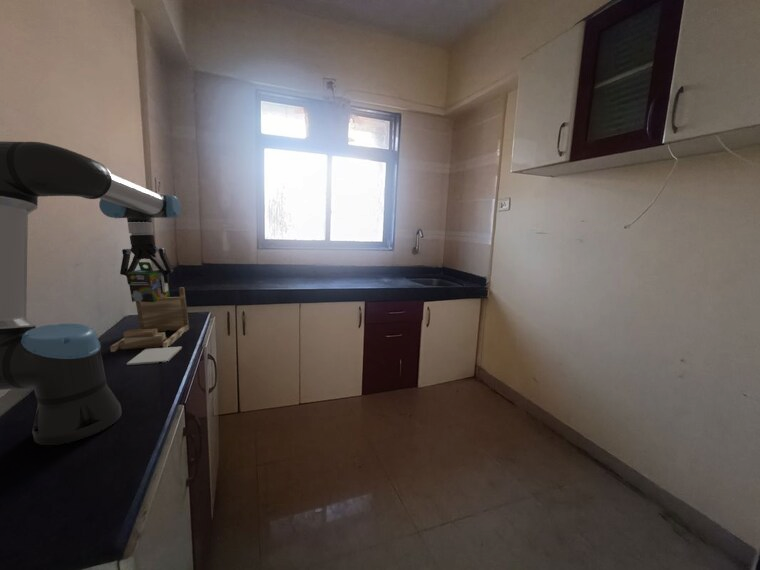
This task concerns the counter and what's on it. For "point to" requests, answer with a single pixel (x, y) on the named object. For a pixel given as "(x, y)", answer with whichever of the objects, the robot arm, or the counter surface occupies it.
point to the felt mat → (154, 355)
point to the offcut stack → (142, 338)
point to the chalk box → (146, 284)
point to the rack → (163, 317)
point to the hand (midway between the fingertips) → (150, 292)
